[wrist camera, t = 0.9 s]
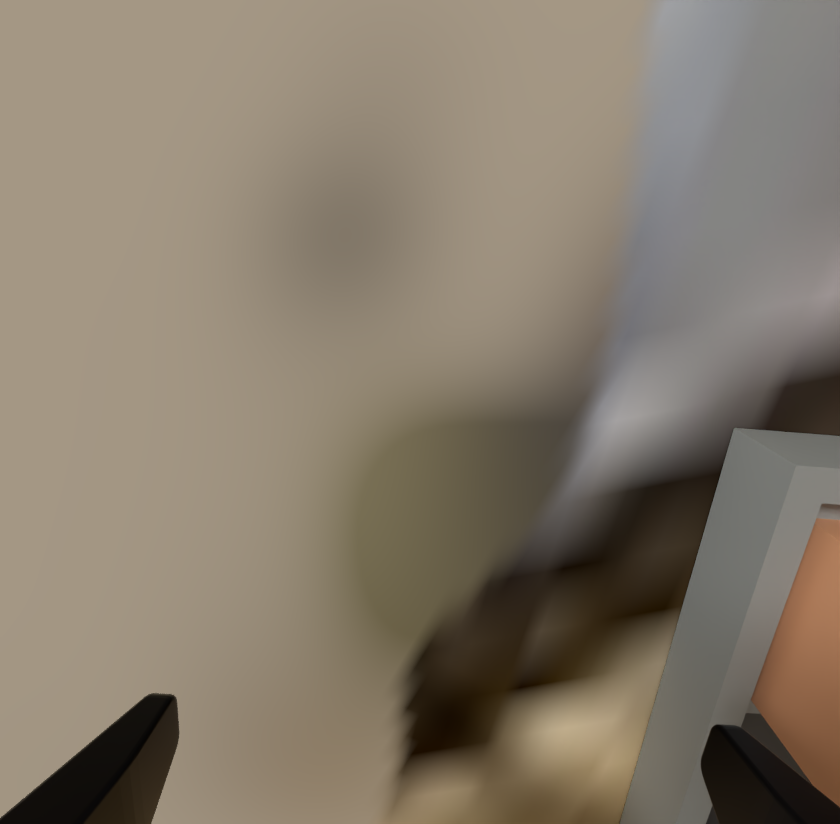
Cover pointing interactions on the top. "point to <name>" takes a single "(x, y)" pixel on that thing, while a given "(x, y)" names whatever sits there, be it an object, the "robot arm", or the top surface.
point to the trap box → (732, 615)
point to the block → (808, 664)
